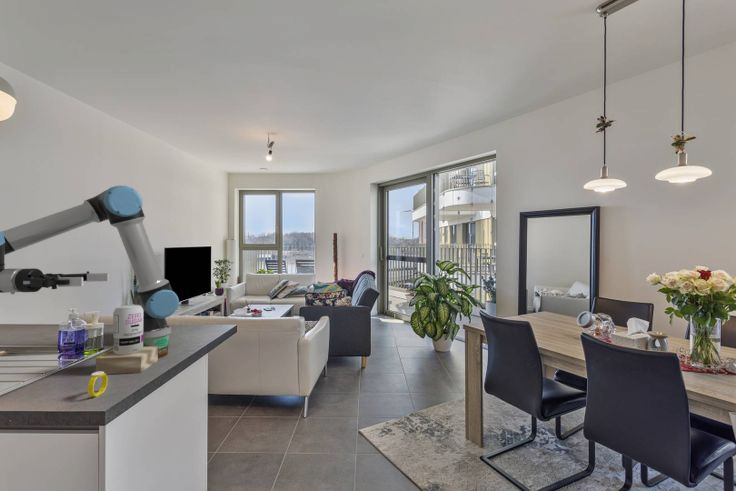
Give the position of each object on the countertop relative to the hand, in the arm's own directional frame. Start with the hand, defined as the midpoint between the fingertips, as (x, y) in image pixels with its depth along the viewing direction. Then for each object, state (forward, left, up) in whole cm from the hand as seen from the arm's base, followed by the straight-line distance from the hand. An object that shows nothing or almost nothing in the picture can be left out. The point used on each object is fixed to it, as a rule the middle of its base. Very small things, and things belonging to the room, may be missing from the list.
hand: (96, 279), depth 116 cm
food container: (-11, +15, -29) cm, 35 cm away
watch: (+22, +13, -29) cm, 39 cm away
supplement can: (0, +10, -24) cm, 26 cm away
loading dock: (0, +10, -29) cm, 31 cm away
